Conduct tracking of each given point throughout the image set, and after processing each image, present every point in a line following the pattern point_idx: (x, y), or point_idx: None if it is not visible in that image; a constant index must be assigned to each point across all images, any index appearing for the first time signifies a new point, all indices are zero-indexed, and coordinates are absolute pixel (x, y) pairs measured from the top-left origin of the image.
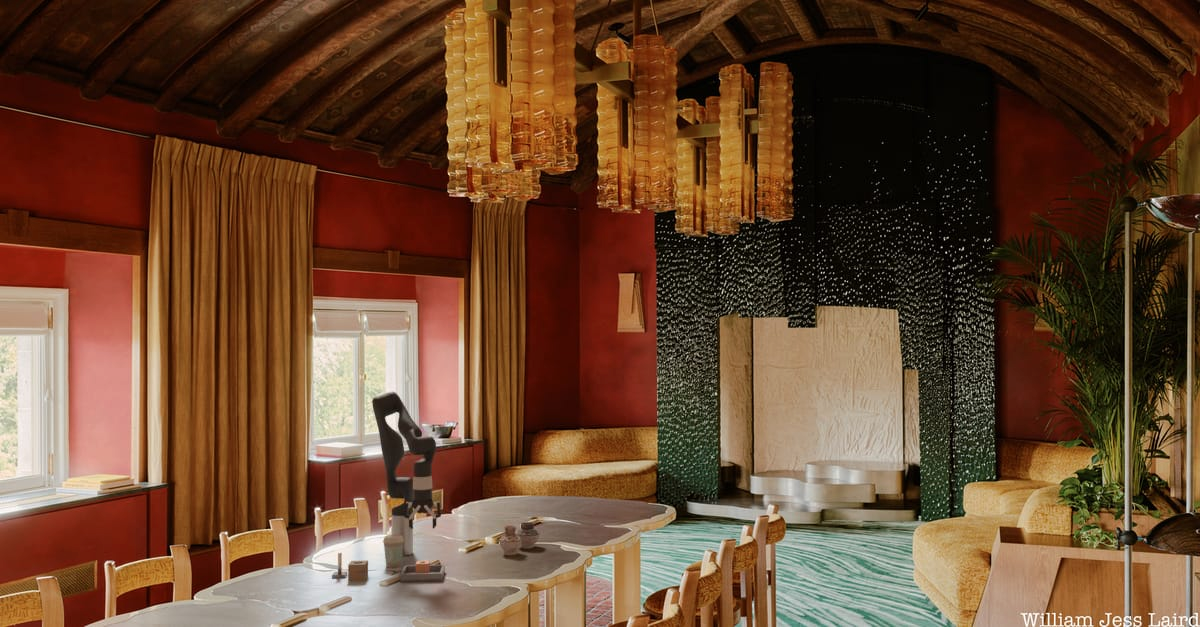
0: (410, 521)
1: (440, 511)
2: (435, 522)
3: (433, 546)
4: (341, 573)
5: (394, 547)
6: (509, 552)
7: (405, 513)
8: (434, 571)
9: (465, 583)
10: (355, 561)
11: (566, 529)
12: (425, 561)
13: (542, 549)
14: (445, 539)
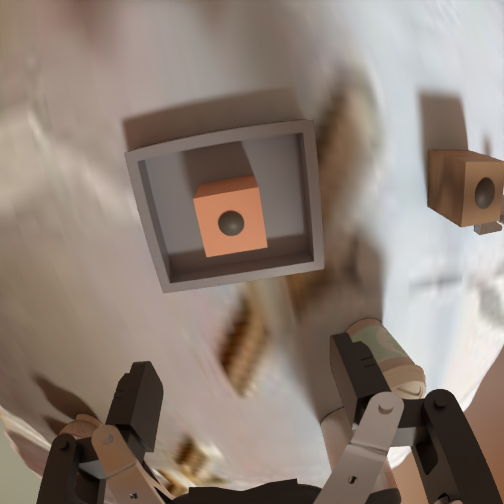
0: (370, 383)
1: (43, 477)
2: (117, 402)
3: (282, 459)
4: None
5: (383, 360)
6: (83, 419)
7: (458, 427)
8: (199, 261)
9: (50, 135)
10: (491, 211)
11: None
12: (221, 241)
13: (57, 432)
14: (268, 481)
